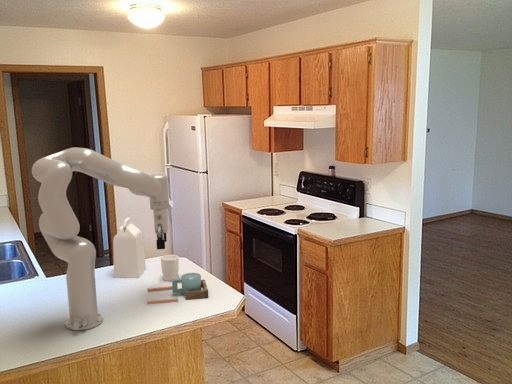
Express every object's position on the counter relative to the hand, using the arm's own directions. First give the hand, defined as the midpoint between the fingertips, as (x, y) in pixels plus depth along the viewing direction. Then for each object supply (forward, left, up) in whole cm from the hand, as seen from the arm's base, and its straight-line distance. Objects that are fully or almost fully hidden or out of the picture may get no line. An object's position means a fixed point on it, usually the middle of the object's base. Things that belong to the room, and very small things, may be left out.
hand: (161, 245), depth 191 cm
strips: (-4, +1, -20) cm, 21 cm away
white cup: (+15, -3, -21) cm, 26 cm away
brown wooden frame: (-4, -13, -20) cm, 24 cm away
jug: (-4, -9, -20) cm, 23 cm away
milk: (+26, +15, -21) cm, 36 cm away
